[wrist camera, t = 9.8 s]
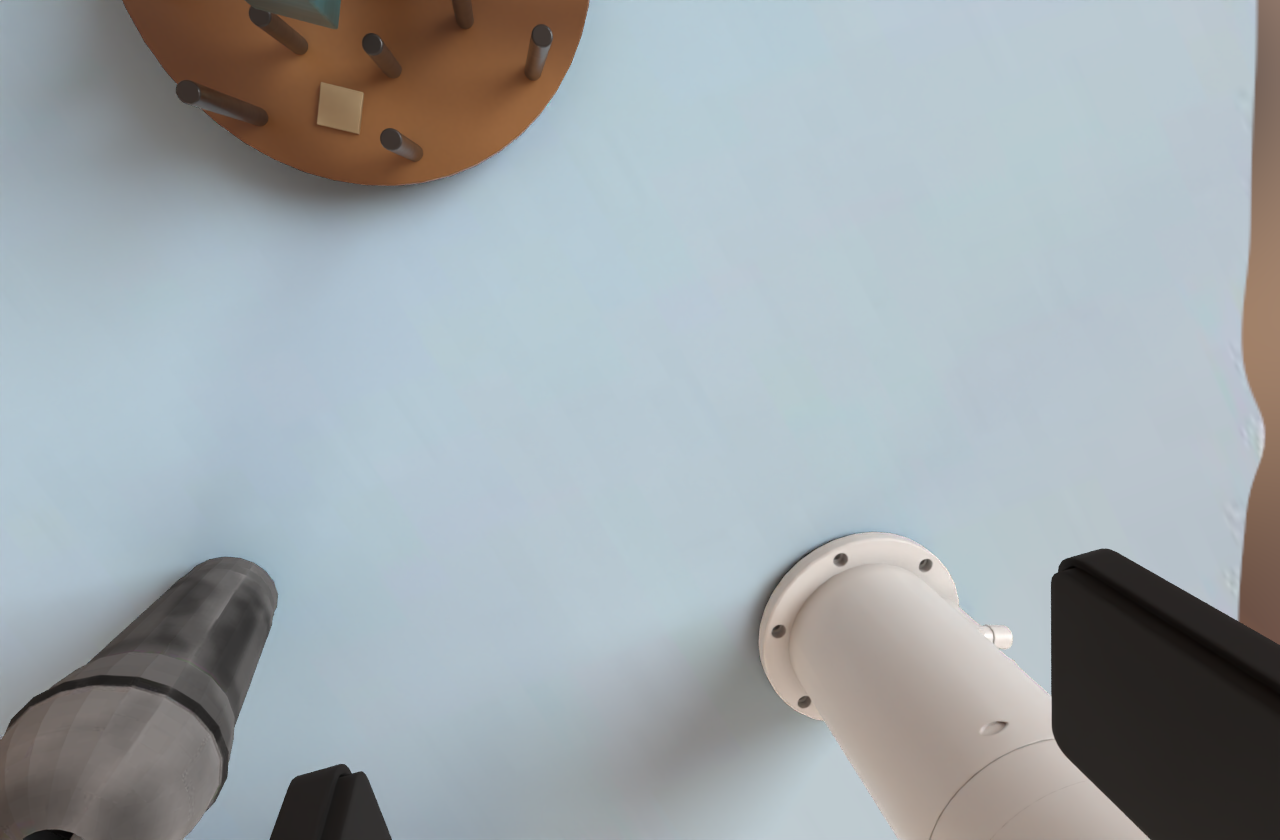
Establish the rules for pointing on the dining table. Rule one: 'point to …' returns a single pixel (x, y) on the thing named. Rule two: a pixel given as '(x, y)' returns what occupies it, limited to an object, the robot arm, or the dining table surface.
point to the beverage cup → (141, 718)
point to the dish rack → (367, 77)
